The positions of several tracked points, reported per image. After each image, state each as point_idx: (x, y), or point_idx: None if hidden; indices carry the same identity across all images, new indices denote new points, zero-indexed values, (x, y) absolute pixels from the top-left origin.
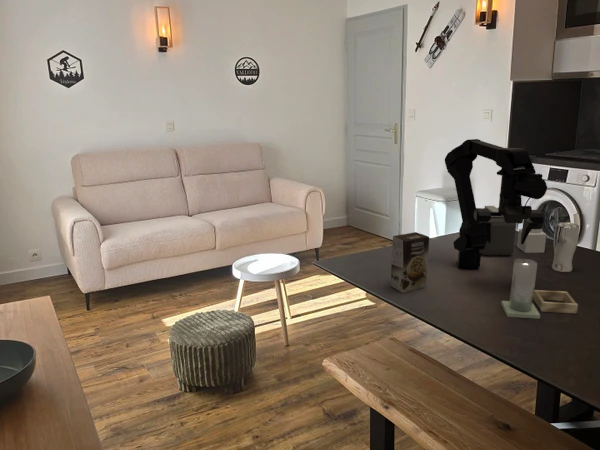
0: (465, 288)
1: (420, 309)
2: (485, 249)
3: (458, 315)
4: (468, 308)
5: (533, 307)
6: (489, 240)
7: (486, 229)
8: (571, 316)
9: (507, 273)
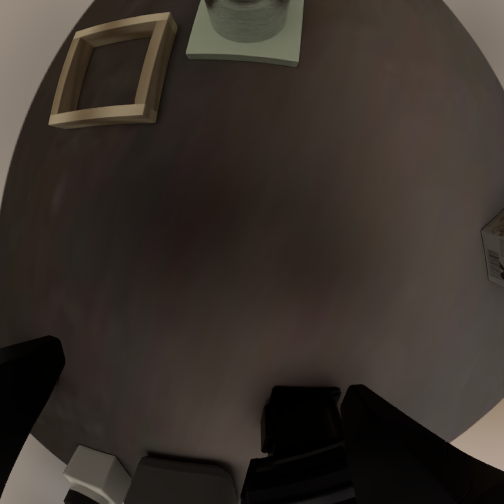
0: (386, 216)
1: (495, 92)
2: (217, 476)
3: (429, 35)
4: (406, 59)
5: (201, 20)
6: (374, 397)
7: (486, 465)
8: None
9: (177, 361)
